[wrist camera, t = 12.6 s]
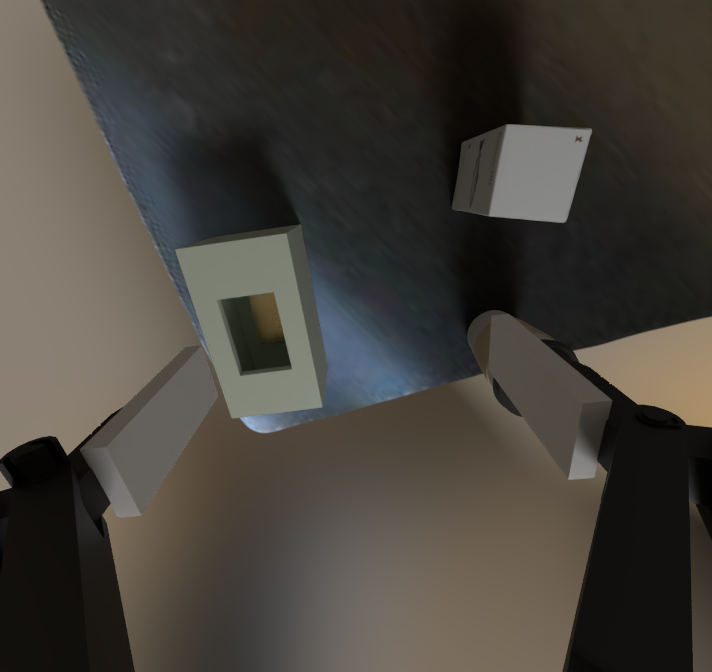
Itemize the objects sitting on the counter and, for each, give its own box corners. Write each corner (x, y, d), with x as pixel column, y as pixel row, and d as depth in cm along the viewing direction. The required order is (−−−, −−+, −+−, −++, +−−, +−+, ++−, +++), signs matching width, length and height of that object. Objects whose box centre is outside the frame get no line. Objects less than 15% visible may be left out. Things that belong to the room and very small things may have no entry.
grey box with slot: (213, 237, 42) (174, 249, 33) (300, 224, 42) (286, 233, 33) (253, 376, 50) (231, 418, 41) (327, 367, 50) (322, 407, 40)
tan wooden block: (253, 285, 44) (247, 291, 41) (284, 281, 44) (280, 287, 41) (265, 335, 47) (260, 344, 44) (294, 332, 47) (291, 340, 44)
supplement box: (460, 140, 39) (506, 118, 27) (524, 145, 39) (597, 126, 27) (448, 210, 42) (486, 217, 30) (508, 214, 42) (569, 223, 30)
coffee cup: (527, 299, 46) (602, 345, 32) (520, 359, 50) (586, 424, 36) (459, 305, 46) (505, 354, 33) (458, 365, 50) (499, 431, 36)
